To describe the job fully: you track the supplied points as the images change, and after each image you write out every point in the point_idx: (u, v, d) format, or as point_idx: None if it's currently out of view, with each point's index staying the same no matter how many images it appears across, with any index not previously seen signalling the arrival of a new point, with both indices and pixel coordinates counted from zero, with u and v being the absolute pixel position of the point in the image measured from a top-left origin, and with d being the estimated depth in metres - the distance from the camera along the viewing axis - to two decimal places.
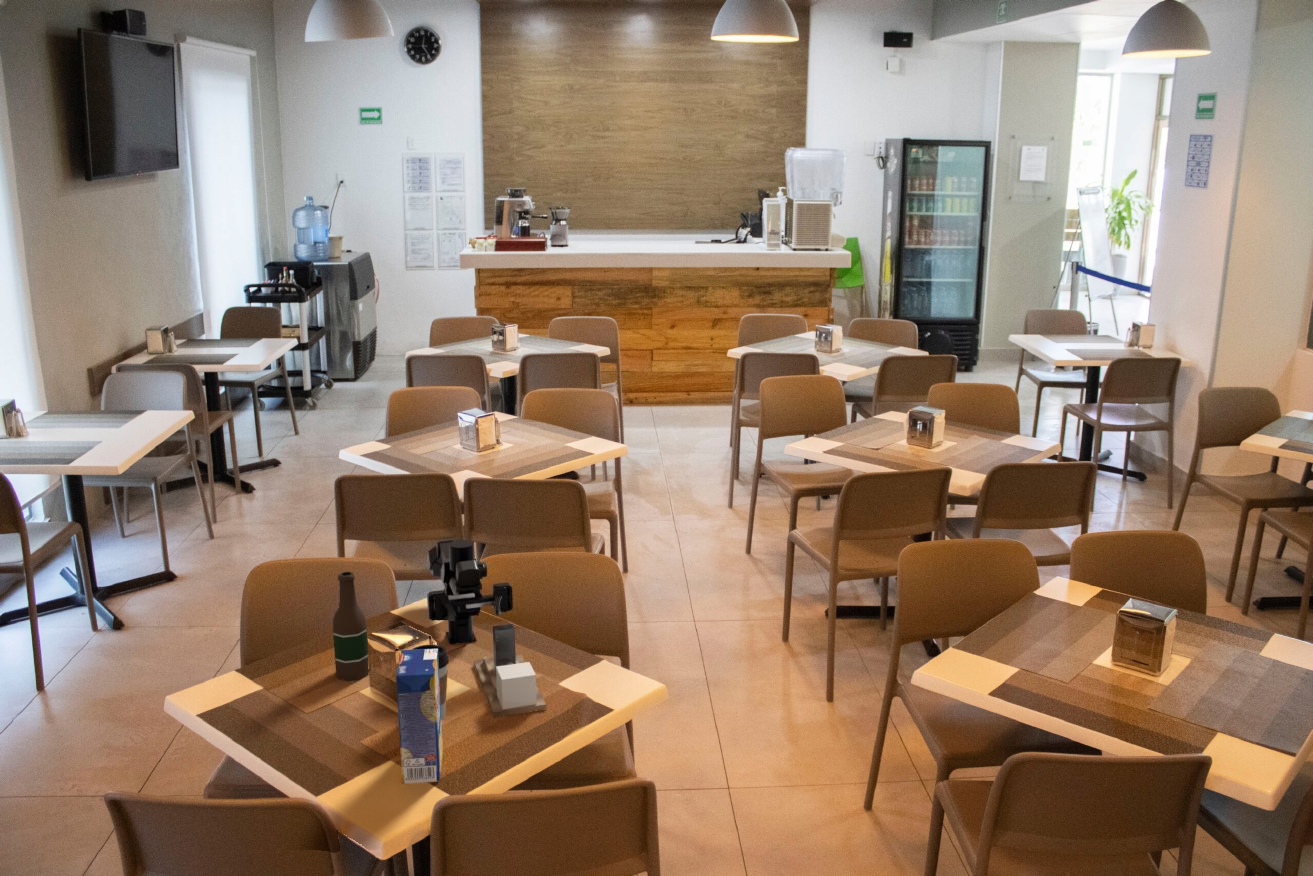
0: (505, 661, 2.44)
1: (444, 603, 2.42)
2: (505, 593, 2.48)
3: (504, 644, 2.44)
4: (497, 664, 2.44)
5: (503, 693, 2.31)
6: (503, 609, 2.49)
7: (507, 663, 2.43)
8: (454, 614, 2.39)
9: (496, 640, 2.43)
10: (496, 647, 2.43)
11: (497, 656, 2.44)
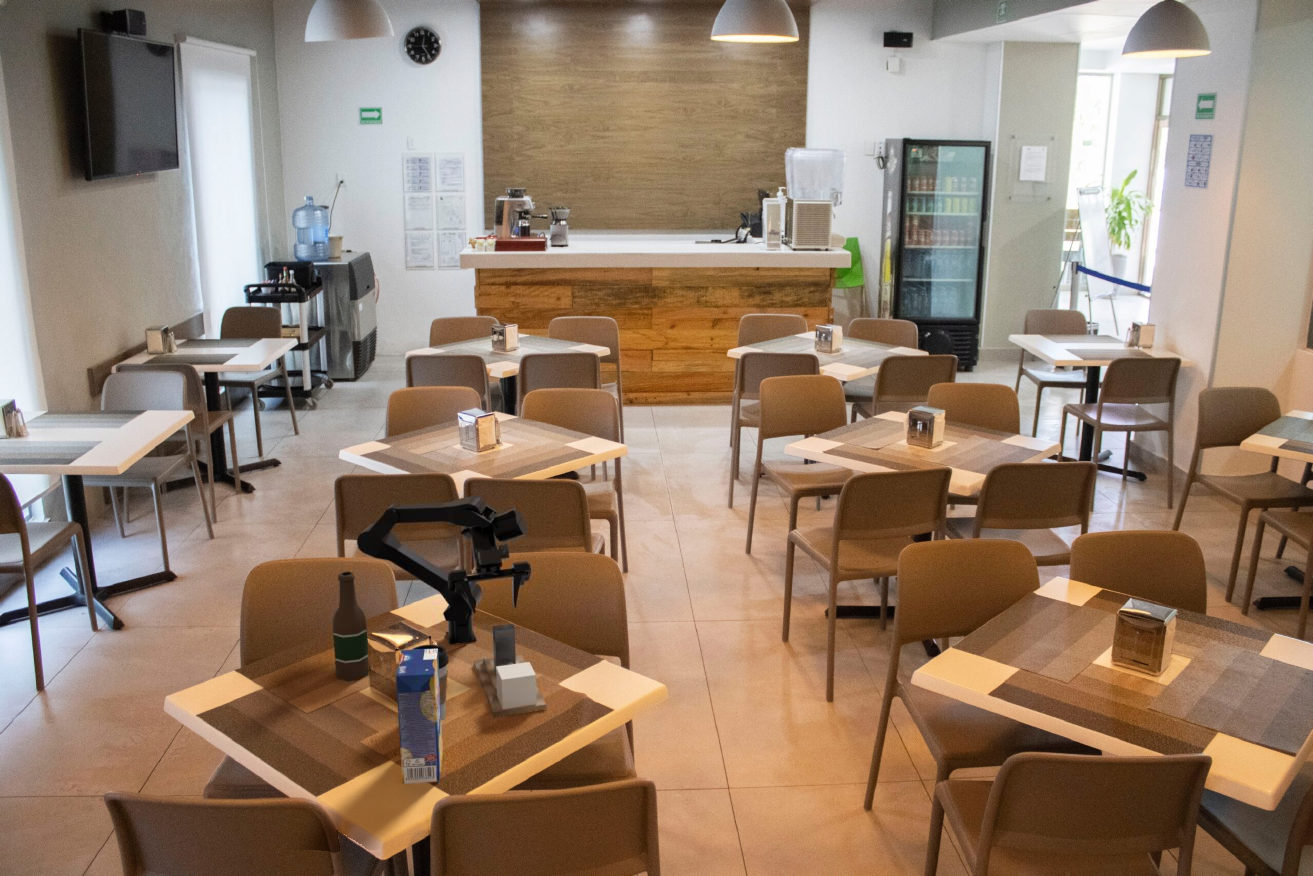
0: (505, 661, 2.44)
1: (465, 590, 2.51)
2: (524, 577, 2.55)
3: (504, 644, 2.44)
4: (497, 664, 2.44)
5: (503, 693, 2.31)
6: (520, 584, 2.58)
7: (507, 663, 2.43)
8: (474, 609, 2.50)
9: (496, 640, 2.43)
10: (496, 647, 2.43)
11: (497, 656, 2.44)
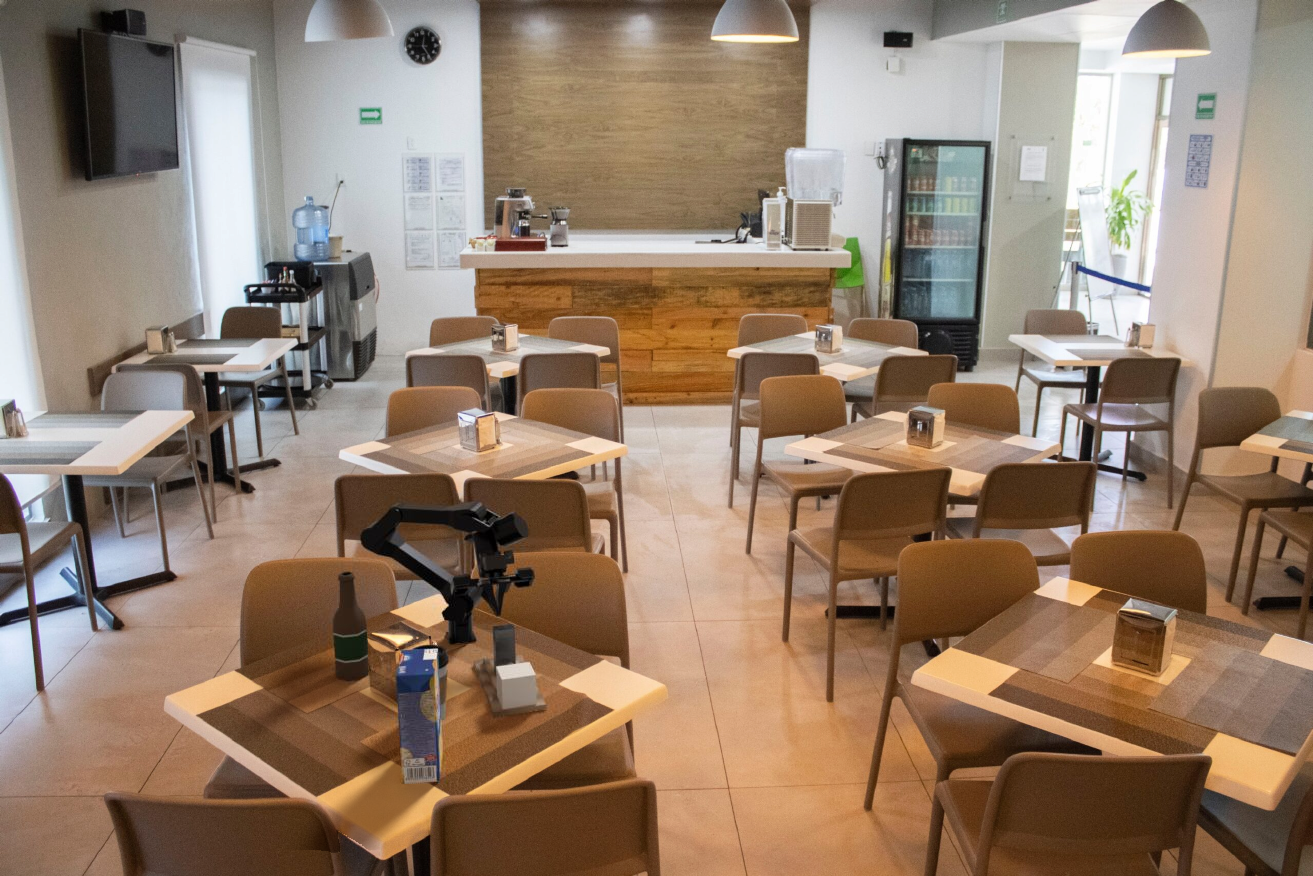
0: (505, 661, 2.44)
1: (488, 592, 2.52)
2: (508, 585, 2.54)
3: (504, 644, 2.44)
4: (497, 664, 2.44)
5: (503, 693, 2.31)
6: None
7: (507, 663, 2.43)
8: (497, 612, 2.51)
9: (496, 640, 2.43)
10: (496, 647, 2.43)
11: (497, 656, 2.44)
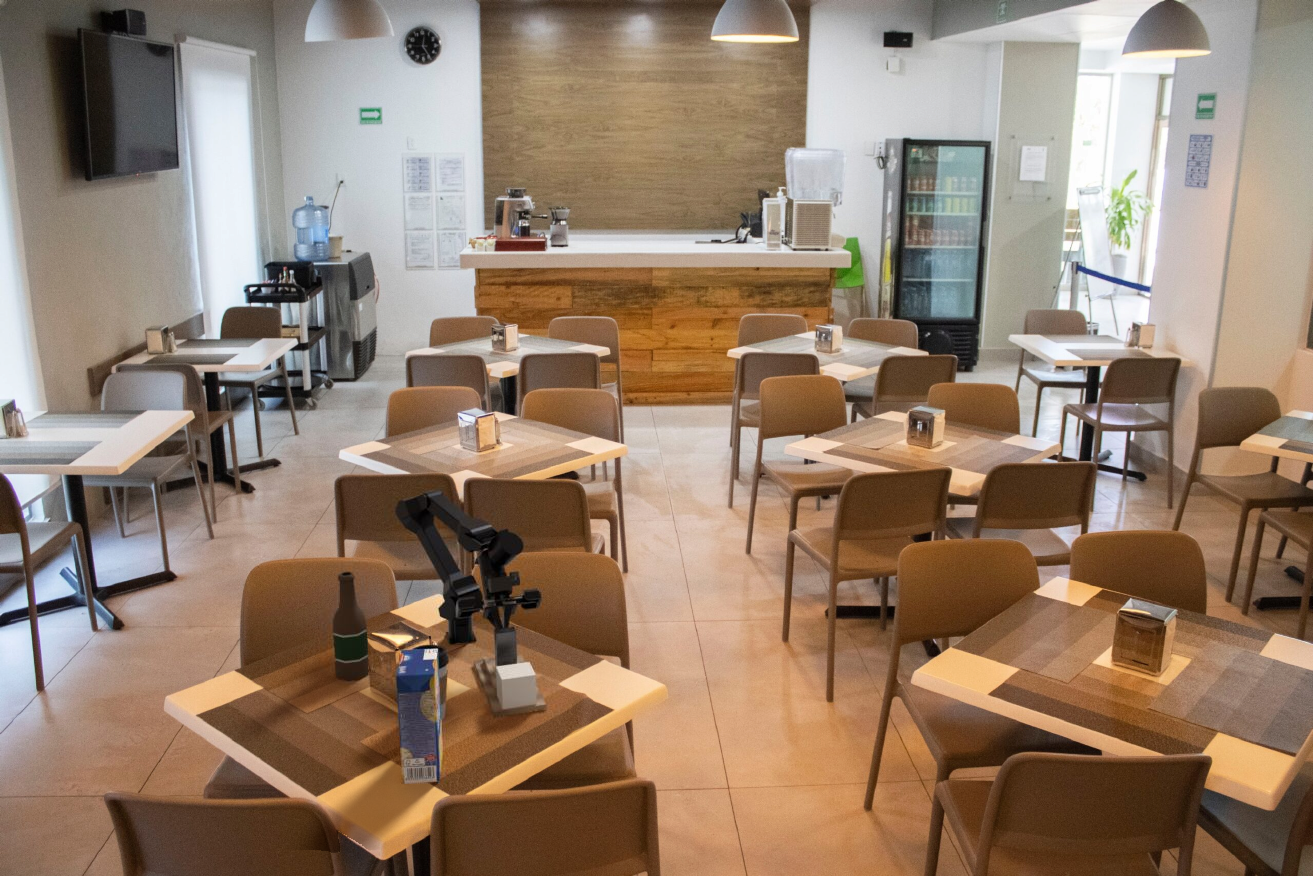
0: (507, 664, 2.42)
1: (494, 615, 2.45)
2: (515, 607, 2.47)
3: (506, 647, 2.42)
4: None
5: (503, 693, 2.31)
6: (510, 614, 2.50)
7: None
8: None
9: (497, 643, 2.41)
10: (497, 650, 2.42)
11: (498, 659, 2.42)
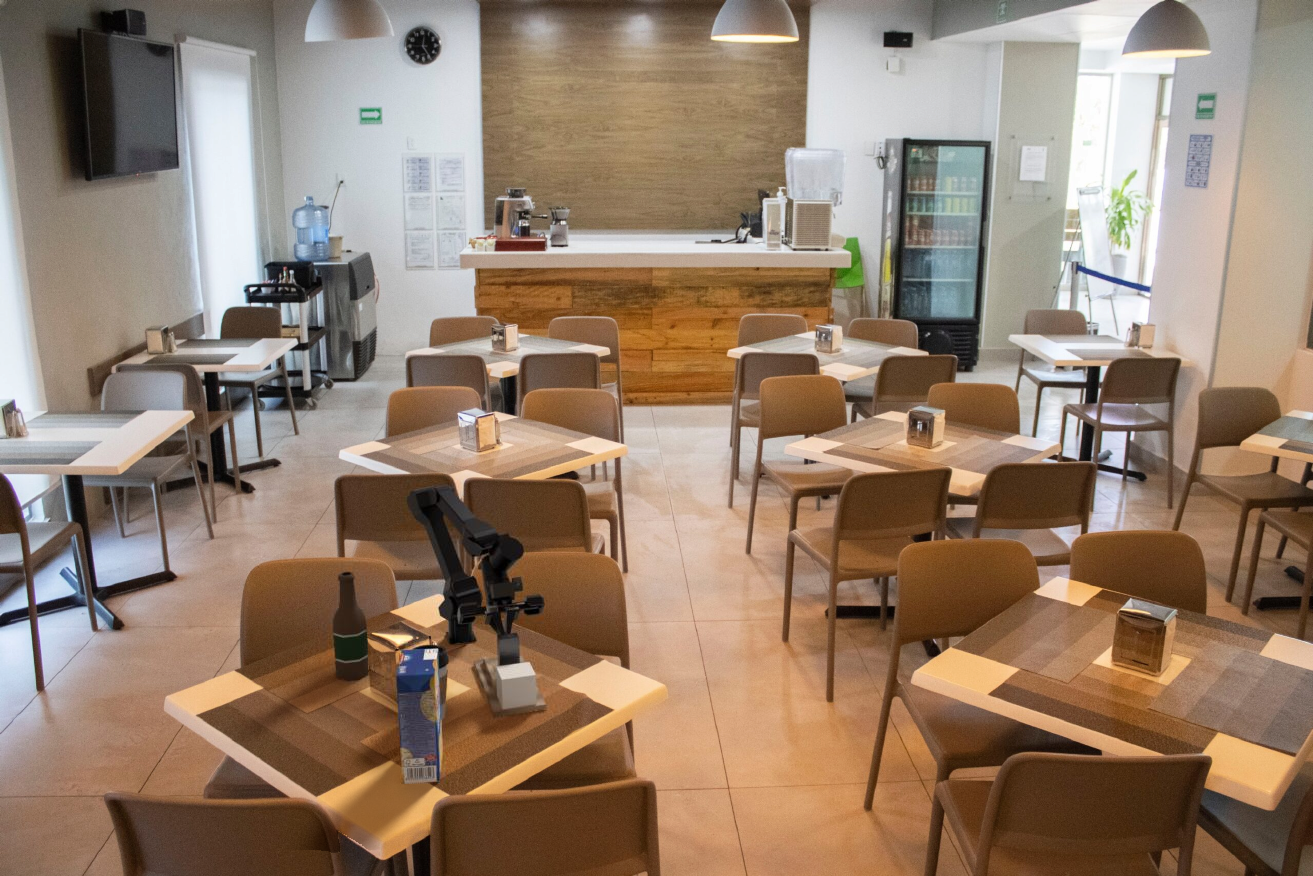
0: None
1: (496, 621, 2.42)
2: (517, 613, 2.44)
3: (509, 653, 2.39)
4: None
5: (503, 693, 2.31)
6: (513, 620, 2.47)
7: None
8: None
9: (500, 649, 2.38)
10: (500, 656, 2.39)
11: (501, 665, 2.39)
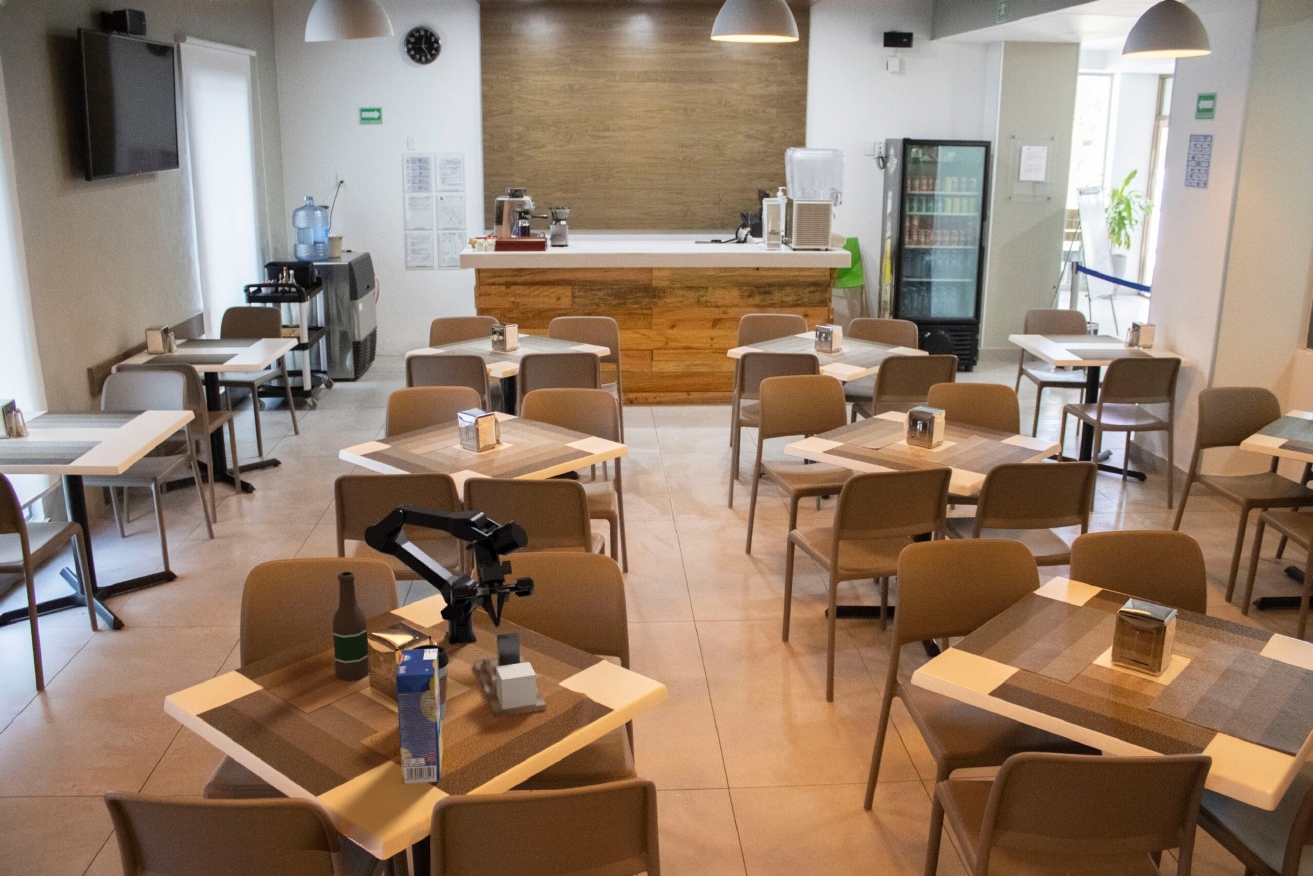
0: None
1: (487, 603, 2.51)
2: (508, 595, 2.53)
3: (509, 653, 2.39)
4: None
5: (503, 693, 2.31)
6: (504, 601, 2.56)
7: None
8: (496, 622, 2.50)
9: (500, 649, 2.38)
10: (500, 656, 2.39)
11: (501, 665, 2.39)
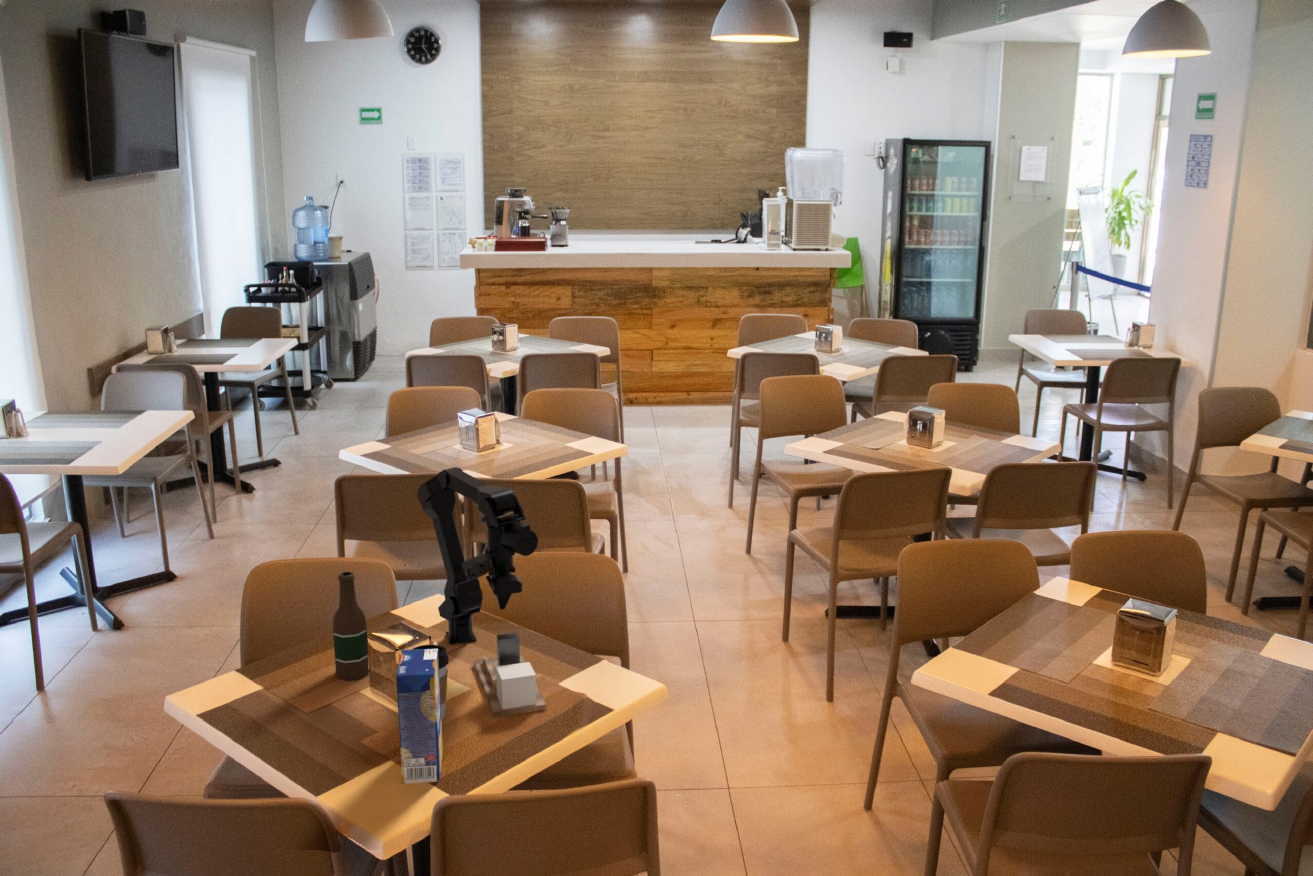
0: None
1: None
2: None
3: (509, 653, 2.39)
4: None
5: (503, 693, 2.31)
6: None
7: None
8: None
9: (500, 649, 2.38)
10: (500, 656, 2.39)
11: (501, 665, 2.39)
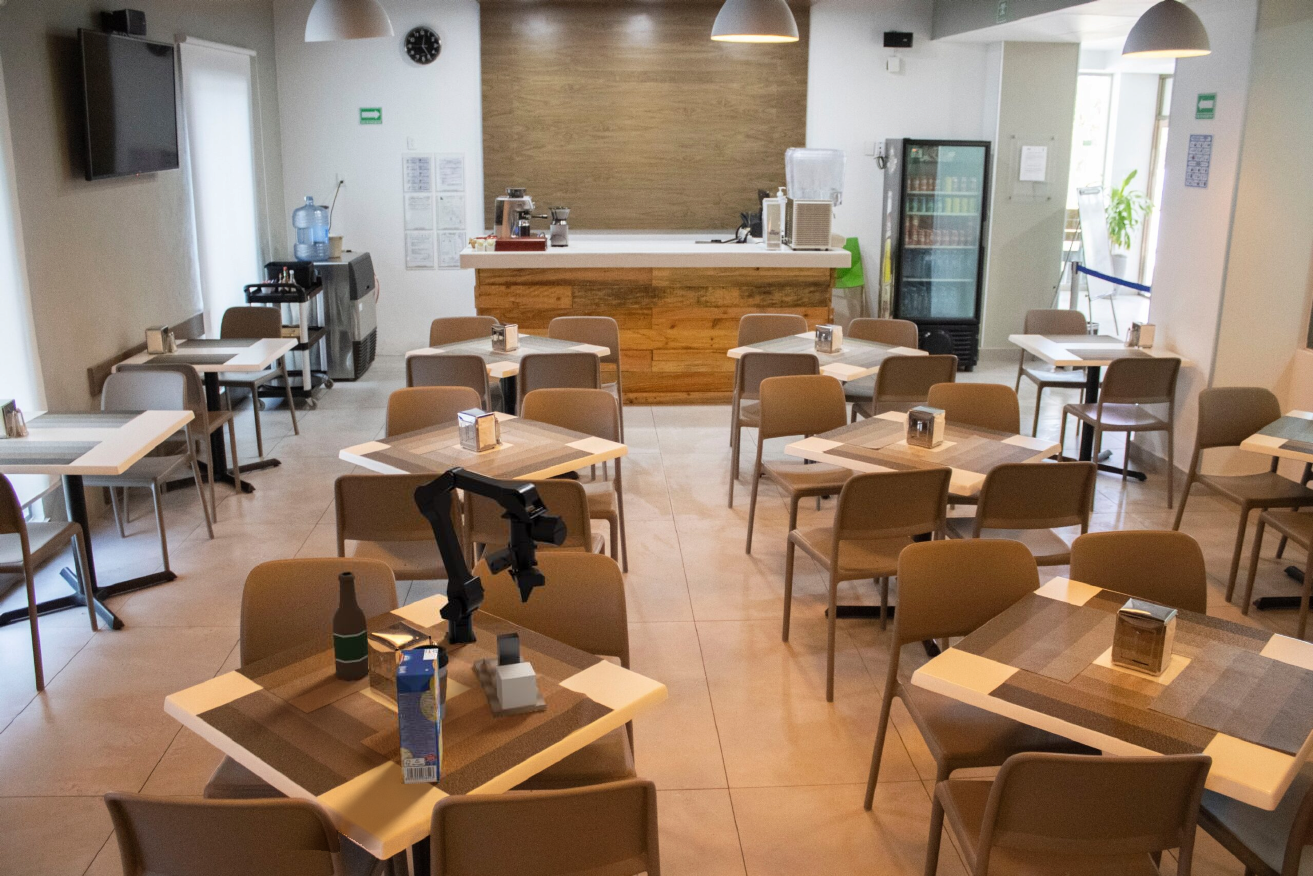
0: None
1: None
2: None
3: (509, 653, 2.39)
4: None
5: (503, 693, 2.31)
6: None
7: None
8: None
9: (500, 649, 2.38)
10: (500, 656, 2.39)
11: (501, 665, 2.39)
